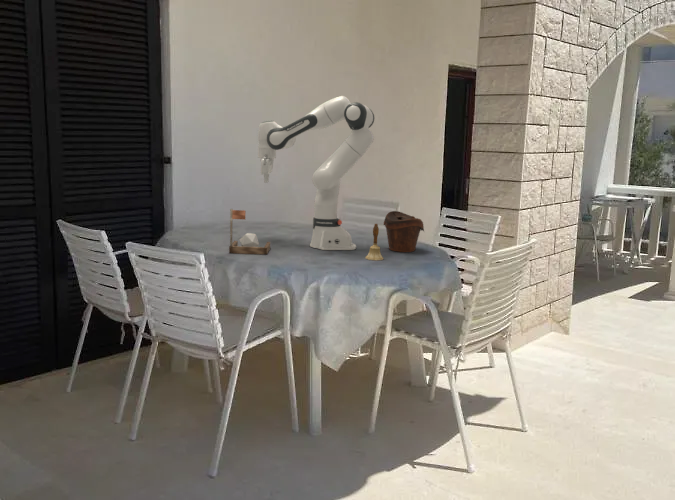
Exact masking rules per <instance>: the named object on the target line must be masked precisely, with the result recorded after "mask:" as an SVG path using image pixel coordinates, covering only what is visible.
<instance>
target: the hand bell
mask: <svg viewBox="0 0 675 500" xmlns="http://www.w3.org/2000/svg"><path fill="white" fill-rule="evenodd" d="M379 231H380V230H379V226H378V223H374V225H373V228H372V235H373V244H372V245H371V246H370V247H369V251H368V254H367V255H366V256H365V257H364V258H365V260H369V261H383V260H384V257H383V255H382V253H381V247H380V246H378V237H379Z"/></svg>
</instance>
